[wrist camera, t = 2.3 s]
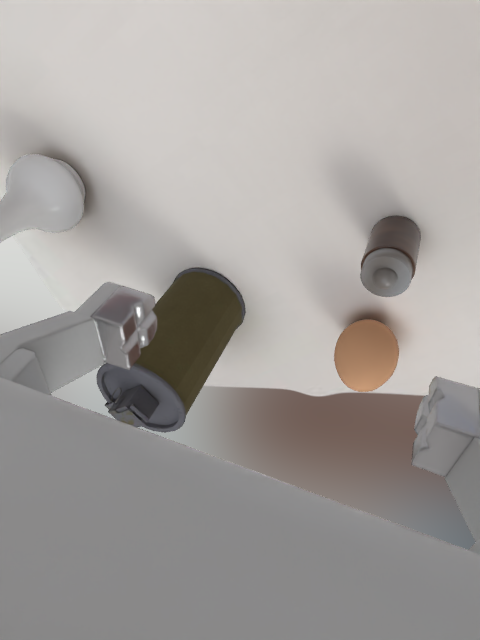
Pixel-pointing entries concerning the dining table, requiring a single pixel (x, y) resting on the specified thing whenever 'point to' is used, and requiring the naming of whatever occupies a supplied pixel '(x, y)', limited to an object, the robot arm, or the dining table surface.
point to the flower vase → (41, 196)
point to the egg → (366, 355)
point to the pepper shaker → (390, 256)
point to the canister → (175, 352)
